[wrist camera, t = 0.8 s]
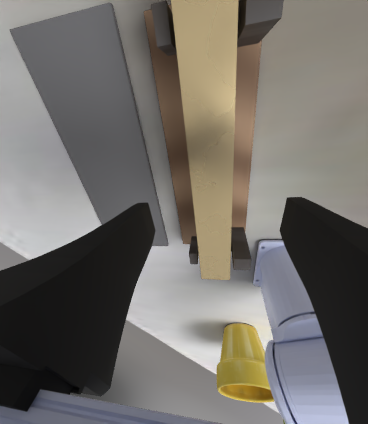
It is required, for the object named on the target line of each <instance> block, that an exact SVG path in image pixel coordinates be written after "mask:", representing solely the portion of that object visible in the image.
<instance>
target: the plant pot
mask: <svg viewBox="0 0 368 424" xmlns="http://www.w3.org/2000/svg"><path fill="white" fill-rule="evenodd" d="M217 389H218V391H219V393H221V394H222V395H224V396H226V397H229V398H232V399H236V400H241V401H248V402H273V401H274V398H273V396H272V393H271V389H270V386H269V382H268V378H267V373H266V367H265V351H264V349H263V346H262V344H261V341H260V339H259V336H258V333H257V331H256V329H255V328H254V327H252V326H251V325H248V324H244V323H233V324H229V325H227V326H226V327H225V328H224V334H223V343H222V351H221V359H220V363H218V365H217Z"/></svg>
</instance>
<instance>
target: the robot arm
mask: <svg viewBox="0 0 368 424" xmlns="http://www.w3.org/2000/svg"><path fill="white" fill-rule="evenodd" d="M155 231H156V230H155V226H154V222H153V219H152V215H151V211H150V207H149V204H148V202H145V203H137V204H135V205H133V206H131V207H130V208H128V209H126V210H125V211H123V212H122V213H120V214H119V215H117V216H116V217H114V218H113V219H111V220H110V221H108V222H106V223H105V224H103V225H101V226H100V227H98V228H96V229H95V230H93V231H91V232H90V233H88V234H86V235H84V236H82V237H81V238H79V239H77V240H75V241H73V242H71V243H69V244H67V245H64V246H62V247H60V248H58V249H55V250H53V251H51V252H48V253H46V254H44V255H42V256H39V257H37V258H34V259H31V260H29V261H26V262H24V263H21V264H18V265H16V266H13V267H10V268H7V269H4V270H1V271H0V424H221V423H215V422H210V421H205V420H200V419H194V418H189V417H184V416H179V415H173V414H168V413H163V412H158V411H152V410H147V409H142V408H137V407H131V406H126V405H121V404H115V403H110V402H105V401H99V400H94V399H88V398H84V397H78V396H73V395H70V393H76V394H81V393H84V394H90V395H95V396H102V395H103V394H105V393H106V392H107V391H108V390H109V389H110V386H111V381H112V376H113V371H114V367H115V362H116V358H117V353H118V348H119V344H120V340H121V336H122V332H123V328H124V324H125V320H126V317H127V313H128V309H129V306H130V302H131V299H132V296H133V292H134V289H135V286H136V283H137V281H138V278H139V276H140V273H141V271H142V269H143V266H144V264H145V261H146V259H147V257H148V254H149V252H150V249H151V247H152V243H153V240H154V236H155ZM280 233H281V236H282V239H283V240H262V241H260V242H259V245H258V252H257V259H256V266H255V272H254V279H253V285H254V286H257V287H261V291H262V295H263V299H264V303H265V307H266V312H267V316H268V320H269V323H270V326H271V328H272V329H271V331H272V335H273V339H274V340H271V341H269V342H268V344H267V348H266V351H265V367H266V373H267V378H268V382H269V386H270V389H271V393H272V396H273V398H274V401H275V404H276V406H277V408H278V410H279V412H280V414H281V416H282V418H283V420H284V422H285V424H368V228H366V227H363V226H361V225H359V224H357V223H355V222H352V221H350V220H348V219H346V218H344V217H342V216H340V215H338V214H336V213H334V212H332V211H330V210H328V209H326V208H324V207H322V206H320V205H318V204H316V203H314V202H312V201H309V200H307V199H305V198H302V197H290V198H287V201H286V205H285V210H284V214H283V218H282V223H281V227H280ZM262 246H264V247H262Z"/></svg>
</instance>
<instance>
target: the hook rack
mask: <svg viewBox="0 0 368 424" xmlns="http://www.w3.org/2000/svg"><path fill="white" fill-rule="evenodd" d="M283 1H284V0H238V32H237V65H236V97H235V129H234V162H233V194H232V227H231V251H232V259H233V268H234V270H250V266H251V256H250V252H249V247H248V243H247V239H246V235H245V228H246V216H247V204H248V193H249V181H250V170H251V158H252V146H253V135H254V123H255V112H256V100H257V88H258V77H259V65H260V54H261V42H262V39H263V38H264V36H265V35H266V34H267V33H268V32H269V31H270V30H271V29H272V28H273V26H274V25H275V24H276V23H277V22H278V21H279V20H280V19H281V17H282V9H283ZM144 17H145V23H146V29H147V34H148V40H149V46H150V52H151V58H152V64H153V70H154V75H155V81H156V87H157V93H158V99H159V105H160V111H161V117H162V122H163V128H164V134H165V140H166V146H167V152H168V158H169V163H170V169H171V175H172V181H173V187H174V193H175V199H176V204H177V210H178V216H179V222H180V228H181V234H182V240H183V244H190V250H189V257H190V264H198V255H199V251H198V242H197V233H196V224H195V215H194V205H193V196H192V187H191V178H190V169H189V160H188V151H187V141H186V132H185V123H184V114H183V105H182V96H181V87H180V78H179V68H178V59H177V50H176V41H175V32H174V23H173V14H172V4H171V5H168V4H167V2H166V1H163V2H159V3H155V4H151V10H147V11H144Z"/></svg>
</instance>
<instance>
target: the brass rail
mask: <svg viewBox="0 0 368 424" xmlns="http://www.w3.org/2000/svg"><path fill="white" fill-rule="evenodd" d="M171 4H172V14H173V23H174V32H175V41H176V50H177V59H178V68H179V78H180V87H181V96H182V105H183V114H184V123H185V132H186V141H187V151H188V160H189V169H190V178H191V187H192V196H193V205H194V215H195V224H196V233H197V242H198V251H199V260H200V269H201V279H216V280H230V259H231V227H232V194H233V162H234V129H235V97H236V65H237V32H238V0H171Z"/></svg>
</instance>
